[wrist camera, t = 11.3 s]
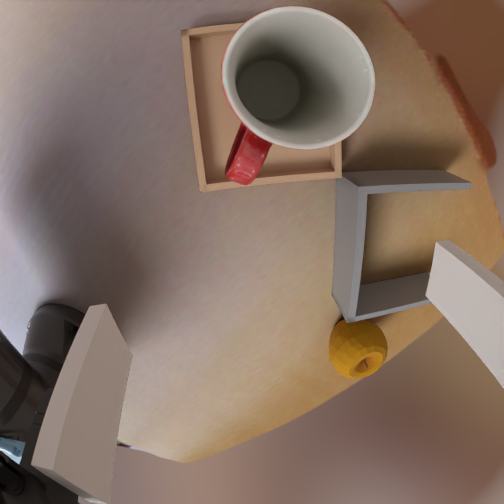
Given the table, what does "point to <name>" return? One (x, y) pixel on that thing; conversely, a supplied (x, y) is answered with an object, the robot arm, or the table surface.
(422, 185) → the bay
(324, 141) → the mug
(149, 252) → the table surface
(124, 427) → the table surface
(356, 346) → the apple
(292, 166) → the tray
